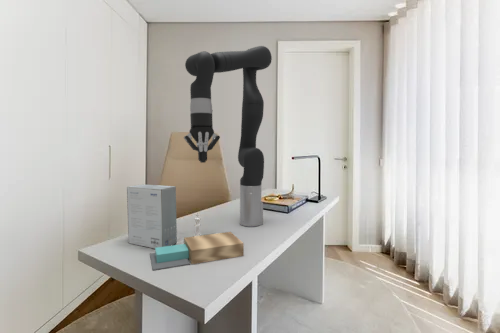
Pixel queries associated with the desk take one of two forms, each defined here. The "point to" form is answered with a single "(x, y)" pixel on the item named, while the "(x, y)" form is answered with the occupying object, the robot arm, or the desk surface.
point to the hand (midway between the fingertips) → (202, 162)
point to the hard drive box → (152, 215)
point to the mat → (167, 263)
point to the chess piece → (197, 225)
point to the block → (171, 253)
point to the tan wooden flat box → (213, 247)
